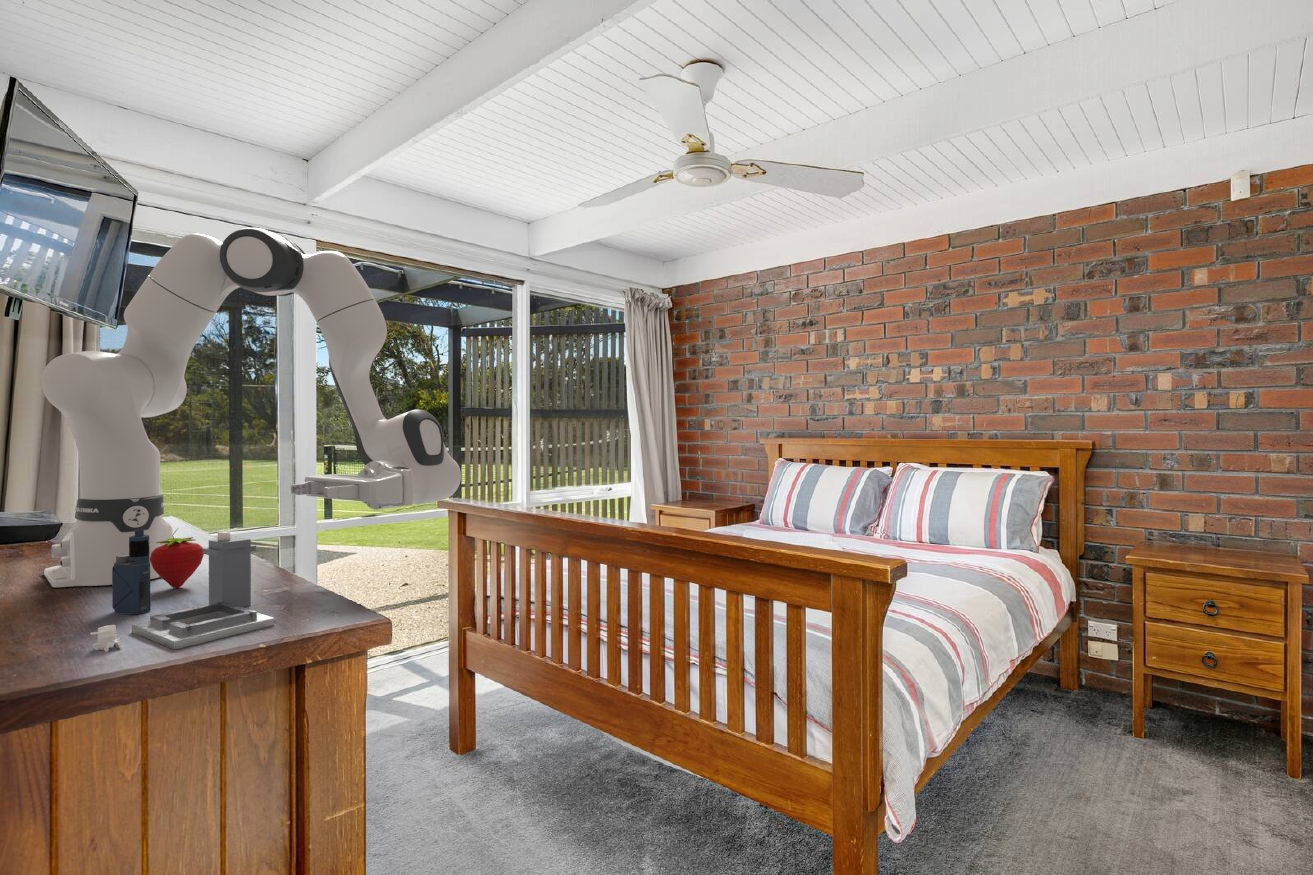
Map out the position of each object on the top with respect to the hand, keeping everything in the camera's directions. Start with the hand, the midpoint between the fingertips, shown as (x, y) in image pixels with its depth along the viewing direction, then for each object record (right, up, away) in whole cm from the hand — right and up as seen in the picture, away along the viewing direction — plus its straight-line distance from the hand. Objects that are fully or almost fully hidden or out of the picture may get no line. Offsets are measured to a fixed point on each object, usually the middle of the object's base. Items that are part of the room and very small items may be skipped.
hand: (309, 491), depth 112 cm
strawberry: (-22, -16, 0) cm, 27 cm away
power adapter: (-9, -18, -30) cm, 36 cm away
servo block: (-7, -16, -10) cm, 20 cm away
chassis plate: (-3, -17, -21) cm, 27 cm away
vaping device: (-19, -17, -14) cm, 28 cm away
